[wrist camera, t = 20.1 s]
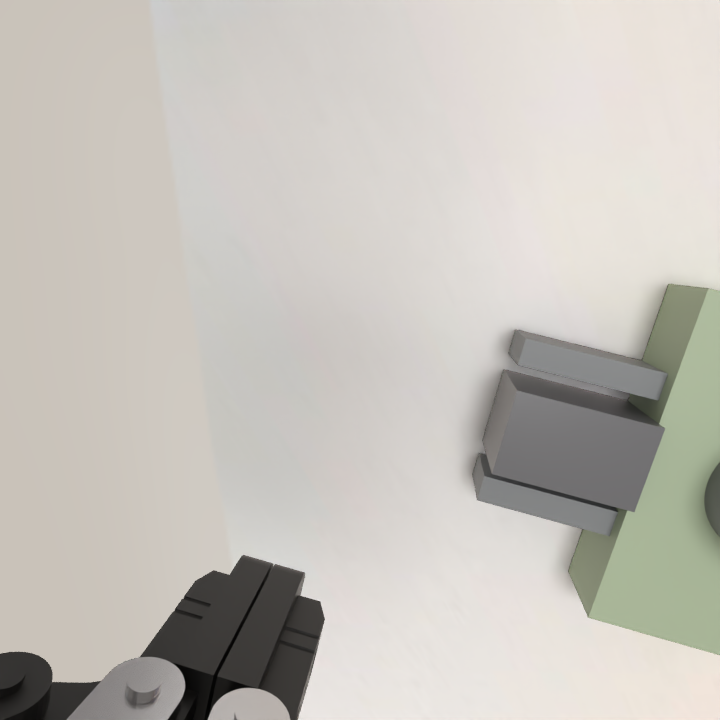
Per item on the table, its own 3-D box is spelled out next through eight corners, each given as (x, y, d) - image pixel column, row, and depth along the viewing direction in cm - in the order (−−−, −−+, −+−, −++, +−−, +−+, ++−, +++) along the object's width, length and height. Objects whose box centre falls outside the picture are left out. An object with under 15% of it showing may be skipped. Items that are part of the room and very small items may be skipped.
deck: (453, 538, 39) (459, 622, 30) (538, 253, 34) (574, 252, 26) (747, 621, 37) (845, 734, 28) (873, 332, 33) (1034, 359, 24)
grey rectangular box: (482, 439, 37) (491, 473, 31) (503, 368, 36) (517, 390, 30) (601, 471, 37) (634, 512, 31) (626, 400, 36) (665, 428, 30)
